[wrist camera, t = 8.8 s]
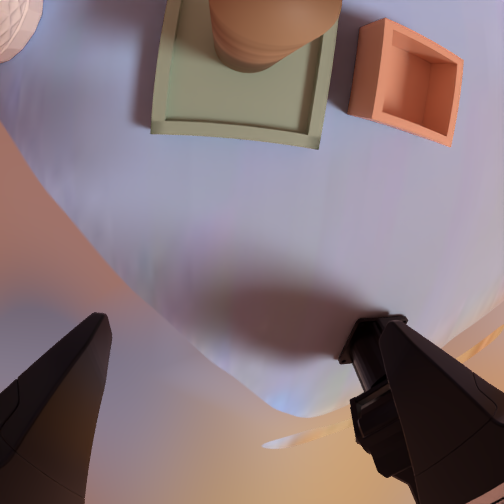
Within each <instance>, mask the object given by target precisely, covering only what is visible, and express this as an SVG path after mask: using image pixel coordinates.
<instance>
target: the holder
mask: <svg viewBox="0 0 504 504" xmlns="http://www.w3.org/2000/svg"><path fill="white" fill-rule="evenodd" d="M463 62H464V60H462V59H461V58H459V57H458V56H456V55H455V54H453V53H452V52H450V51H448V50H447V49H445V48H443V47H442V46H440V45H438V44H437V43H435V42H433V41H431V40H430V39H428V38H426V37H424V36H422V35H420V34H418V33H417V32H415V31H413V30H411V29H409V28H407V27H404V26H402V25H400V24H398V23H396V22H394V21H392V20H389V19H387V18H383V19H380V20H378V21H375V22H372V23H370V24H367V25H365V26H362V27H360V29H359V38H358V46H357V54H356V61H355V68H354V75H353V82H352V88H351V94H350V101H349V107H348V112H347V114H348V115H352V116H355V117H359V118H363V119H366V120H370V121H373V122H377V123H380V124H383V125H387V126H390V127H393V128H396V129H399V130H402V131H405V132H408V133H411V134H413V135H416V136H419V137H422V138H425V139H428V140H431V141H434V142H437V143H440V144H443V145H445V146H448V147H451V144H452V139H453V134H454V129H455V124H456V118H457V112H458V106H459V99H460V92H461V83H462V74H463Z"/></svg>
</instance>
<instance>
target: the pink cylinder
mask: <svg viewBox="0 0 504 504" xmlns="http://www.w3.org/2000/svg"><path fill="white" fill-rule="evenodd" d="M42 9H43V0H0V63H3V62H6V61H9V60H11V59H12V58H13V57H14V56H15V55H16V54H17V53H19V52H20V51H21V50H22V49H23V48H24V47H25V45H26V44H27V42H28V41H29V39H30V38H31V37H32V35H33V34H34V32H35V30H36V28H37V25H38V23H39V20H40V18H41V16H42Z"/></svg>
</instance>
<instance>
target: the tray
mask: <svg viewBox="0 0 504 504" xmlns="http://www.w3.org/2000/svg"><path fill="white" fill-rule="evenodd" d="M338 19H339V17H338ZM338 19H337V20H336V22H335V24H334V25H333V26H332V27H331V28H330V29H329V30H328V31H327V32H326V33H324V34H323V35H321V36H320V37H318V38H316V39H314V40H313V41H311V42H309V43H308V44H306V45H304V46H303V47H301V48H299V49H298V50H296V51H294V52H293V53H291V54H290V55H288V56H286V57H285V58H283V59H282V60H280V61H279V62H277V63H276V64H274V65H273V66H271V67H270V68H268V69H266V70H264V71H261V72H257V73H242V72H238V71H235V70H232V69H230V68H229V67H227V66H226V65H224V64H223V63H222V62H221V60H220V59H219V58H218V56H217V54H216V52H215V48H214V40H213V32H212V24H211V16H210V8H209V0H168V1H167V5H166V10H165V15H164V21H163V26H162V32H161V38H160V45H159V52H158V59H157V66H156V75H155V84H154V93H153V104H152V117H151V133H150V134H168V135H193V136H210V137H223V138H234V139H244V140H254V141H262V142H270V143H278V144H285V145H292V146H299V147H305V148H311V149H317V150H318V149H319V144H320V138H321V133H322V127H323V121H324V116H325V110H326V104H327V98H328V91H329V85H330V78H331V72H332V65H333V58H334V51H335V43H336V35H337V27H338Z"/></svg>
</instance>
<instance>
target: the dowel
mask: <svg viewBox="0 0 504 504" xmlns="http://www.w3.org/2000/svg"><path fill="white" fill-rule="evenodd" d="M341 7H342V0H209V8H210V16H211V24H212V32H213V40H214V48H215V52H216V54H217V56H218V58H219V59H220V60H221V62H222V63H223V64H224V65H226V66H227V67H229V68H230V69H232V70H235V71H238V72H242V73H257V72H261V71H264V70H266V69H268V68H270V67H271V66H273V65H274V64H276V63H277V62H279V61H280V60H282V59H283V58H285V57H286V56H288V55H290V54H291V53H293V52H294V51H296V50H298V49H299V48H301V47H303V46H304V45H306V44H308V43H309V42H311V41H313V40H314V39H316V38H318V37H320V36H321V35H323V34H324V33H326V32H327V31H328V30H329V29H330V28H331V27H332V26H333V25H334V24H335V22H336V20H337V19H338V17H339V14H340V12H341Z"/></svg>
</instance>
